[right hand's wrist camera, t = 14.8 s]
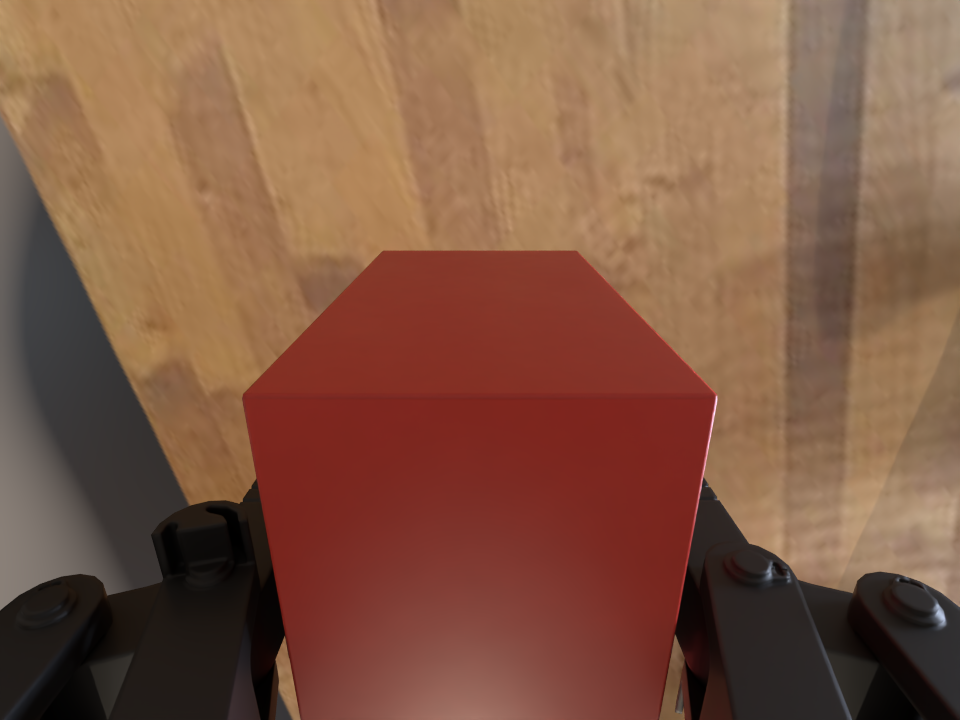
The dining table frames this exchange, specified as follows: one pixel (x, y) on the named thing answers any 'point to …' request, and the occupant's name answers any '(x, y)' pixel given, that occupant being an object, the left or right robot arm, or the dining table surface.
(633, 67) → the dining table surface
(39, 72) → the dining table surface
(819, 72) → the dining table surface
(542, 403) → the block
